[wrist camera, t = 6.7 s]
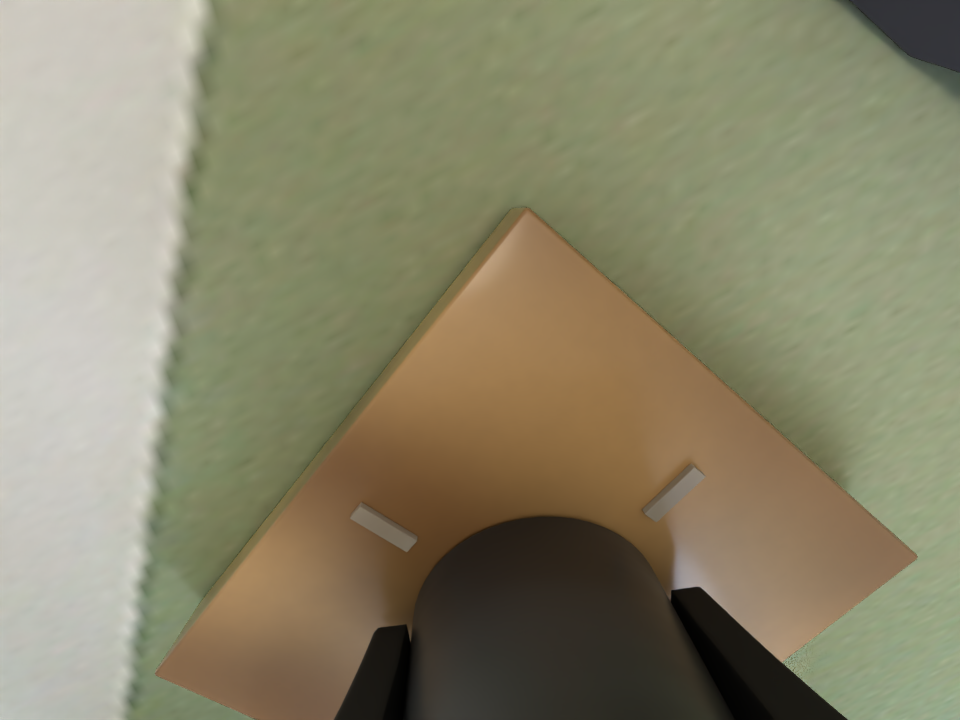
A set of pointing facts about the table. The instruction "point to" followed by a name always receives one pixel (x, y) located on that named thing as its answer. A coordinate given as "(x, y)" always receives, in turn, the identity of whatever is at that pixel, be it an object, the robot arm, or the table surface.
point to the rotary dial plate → (527, 484)
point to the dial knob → (552, 632)
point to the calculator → (920, 27)
